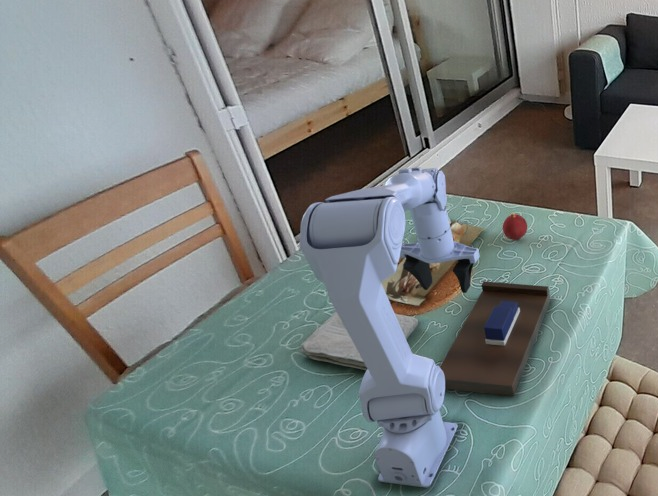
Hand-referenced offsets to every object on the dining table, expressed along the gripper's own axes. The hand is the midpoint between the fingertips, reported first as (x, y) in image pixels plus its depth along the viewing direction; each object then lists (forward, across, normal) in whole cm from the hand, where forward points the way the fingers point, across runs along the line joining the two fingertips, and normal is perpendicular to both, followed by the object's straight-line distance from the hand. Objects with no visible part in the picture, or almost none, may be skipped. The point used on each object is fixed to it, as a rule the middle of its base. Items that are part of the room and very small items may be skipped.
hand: (447, 287), depth 95 cm
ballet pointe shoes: (+10, +14, -18) cm, 25 cm away
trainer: (+7, -11, +2) cm, 13 cm away
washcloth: (+10, +16, +6) cm, 20 cm away
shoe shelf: (+9, -10, +3) cm, 14 cm away
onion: (+10, -3, -27) cm, 29 cm away
